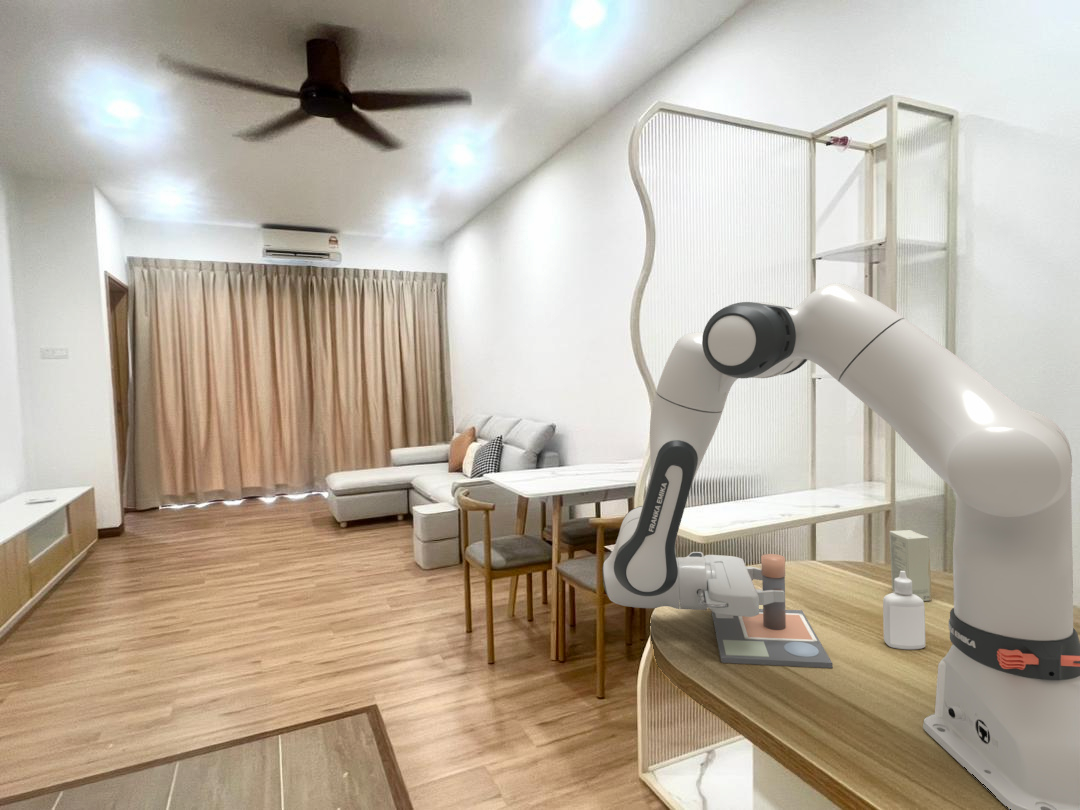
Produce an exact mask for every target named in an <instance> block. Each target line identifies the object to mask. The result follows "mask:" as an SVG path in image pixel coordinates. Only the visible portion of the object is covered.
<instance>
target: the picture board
mask: <svg viewBox="0 0 1080 810" xmlns="http://www.w3.org/2000/svg"><path fill="white" fill-rule="evenodd" d="M785 611H786V628H785V629H783V630H772V629H768V628H766V627H765V626H764V625H763V608H759V614H758V615H757V616H753V617H743V616H731V615H723V614H717V613H714V612H711V616H713V617H712V622H713V626H714V627H713V628H714V632H716V633H715V637H716V642H717V645H718V646H717V647H718V652H719V656H720V657H719V658H720V662H721V664H722V663H724V664H740V665H741V664H743V665H760V666H761V665H762V666H763V665H764V666H780V667H781V666H782V667H783V666H785V667H801V668H802V667H803V668H822V669H825V668H826V669H833V661H832V660H831V658H830V657H829V654H828V653H827V652H826V649H825V648H824V646H823V644H822V642H821V640H820V639H819V638H818V636H817V634H816V633H815V630H814V629H813V626H812V625H811V624H810V623H811V622H809V620H808V618H807V616H806V615H805V613H804V611H803V610H802V609H785Z"/></svg>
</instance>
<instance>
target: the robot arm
mask: <svg viewBox="0 0 1080 810" xmlns="http://www.w3.org/2000/svg"><path fill="white" fill-rule="evenodd" d="M669 354H670V355H669V356H668V358H667V359H666V363H665V365H664V366H663V367H664V368H663V370H662V373H661V375H660V378H659V380H658V383H657V386H656V391H655V393H654V397H653V401H652V407H651V414H650V422H649V423H650V424H649V449H650V451H649V452H650V471H649V479H648V484H647V485H648V486H647V489H646V492H645V496H644V499H643V504H642V505H640V506H637V507H635V508H632V509H631V510H629V511H628V512H627V513H626V514H625V516H624V518H623V520H622V522H621V525H620V528H619V532H618V536H617V539H616V540H615V544H614V546H613V549H612V550H611V553H610V555H609V556H608V557H607V558H606V559H605V560H604V562H603V565H602V579H603V581H602V582H603V587H604V592H605V593H606V596H607V597H608V599H609V600H610V601H611V602H612V603H614V604H616V605H620V606H622V607H623V606H624V607H630V608H631V607H632V608H640V609H657V608H660V607H668V608H669V607H670V608H672V609H673V608H674V609H677V610H696V611H697V610H698V611H699V610H700V611H704V610H705V611H707V610H708V609H710V611H712V612H714V613H717V614H723V615H731V616H743V617H753V616H757V615H758V614H759V609H760V606H763V605H766V604H770V603H773V602H784V601H785V602H786V592H785V593H784V591H783V589H780V588H779V589H777V588H772V590H766V591H763V589H758V588H757V589H756V587H755V585H754V582H753V580H756V581H762V569H761V568H759V567H755V566H746V564H745V561H744V559H743V558H741V557H738V556H734V555H733V556H732V555H723V554H722V555H720V554H705V555H704V553H703V552H702V551H692V552H690V553H689V554H688V555H687V556H685V557H684V556H683V557H681V556H678V557H677V555H676V540H677V536H678V533H679V528H680V527H681V521H682V519H683V514H684V512H685V509H686V508H685V507H686V505H687V501H688V498H689V495H690V491H691V488H692V485H693V482H694V479H695V477H696V475H697V473H698V471H699V468H700V466H701V464H702V462H703V459H704V457H705V455H706V452H707V450H708V448H709V446H710V444H711V442H712V440H713V437H714V435H715V432H716V430H717V428H718V425H719V422H720V421H721V418H722V415H723V412H724V408H725V405H726V402H727V399H728V395H729V393H730V390H731V389H732V386H733V385H734V383H735V382H736V381H737V380H738V379H750V378H752V379H754V378H755V379H768V378H774V377H778V376H783V375H786V374H787V375H788V374H791V373H793V372H795V371H796V370H798V369H800V368H801V367H802V366H803V365H804V364H806V363H807V362H808V361H810V362H812V363H814V364H816V365H817V366H819V367H820V368H822V369H823V370H824V371H825V372H827V373H828V374H829V375H830V376H832V378H834V379H835V380H836V381H837V382H838V383H840V384H841V385H842V386H843V387H845V388H846V389H847V390H848V391H849V392H851V393H852V394H853V395H854V396H855V397H856V398H857V399H859V400H860V401H861V402H862V403H864V404H865V406H867V407H868V408H870V409H871V410H872V411H873V412H874V413H876V414H877V415H878V416H879V417H881V419H883V420H884V421H885V423H887V424H888V425H889V426H890V427H891V428H892V429H893V430H894V431H895V432H896V434H898V435H899V436H900V437H901V438H902V440H904V441H905V443H907V445H908V446H909V447H910V448H911V449H912V450H913V451H914V452H915V453H916V454H917V456H919V457H920V459H921V460H923V462H924V463H925V464H926V465H927V466H928V467H929V468H931V470H932V471H933V472H935V474H937V476H938V477H940V479H942V480H943V482H945V483H946V484H947V485H948V486H949V487H950V488H951V489H952V491H954V493H955V494H956V500H955V501H956V504H955V505H956V507H955V521H954V534H953V536H954V537H953V545H952V568H953V569H952V575H953V577H952V578H953V581H952V583H953V584H952V585H953V607H952V608H951V610H950V612H949V619H948V629H949V640H950V642H951V643H952V645H951V647H950V648H949V651H948V652H947V654H946V655H945V656H944V657H942V659H941V660H940V662H938V666H937V676H936V678H937V679H936V688H935V689H936V692H935V705H934V706H935V707H934V713H932V714H930V715H928V716H926V717H925V718H924V720H923V725H922V728H923V730H924V731H925V732H926V733H927V734H928V735H929V736H930V737H931V738H932V739H934V740H935V742H936V743H938V744H939V745H940V746H941V747H942V748H943V749H944V750H945V751H946V752H947V753H948V754H949V755H950V756H952V758H954V759H955V760H956V762H958V763H959V764H960V765H961V766H962V767H963V768H964V767H965V768H966V769H967V770H966V769H965V768H964V769H965V770H966V771H968V773H970V774H971V775H972V774H973V775H974V776H975V777H976V778H977V779H978V780H979V781H980V782H981V783H982V784H984V785H985V786H986V787H987V788H988V789H989V790H990V791H991V792H992V793H993V794H994V795H995V796H996V797H995V796H994V795H993V794H992V793H991V792H990V791H989V790H988V789H987V788H986V787H985V786H984V785H983V786H984V787H985V788H986V789H987V790H988V791H989V792H990V793H991V794H992V795H993V796H994V797H995V798H996V799H998V800H999V801H1000V803H1002V804H1003V805H1004V806H1005V807H1006V806H1007V807H1009V808H1008V810H1010V809H1011V810H1080V637H1079V633H1078V632H1077V630H1076V629H1075V627H1074V593H1073V592H1074V591H1073V589H1074V588H1073V585H1074V584H1073V583H1074V582H1073V581H1074V577H1073V576H1074V574H1073V573H1074V572H1073V571H1074V570H1073V569H1074V567H1073V566H1074V565H1073V563H1074V560H1073V559H1074V558H1073V557H1074V556H1073V523H1072V521H1073V519H1072V517H1073V516H1072V515H1073V514H1072V513H1073V512H1072V511H1073V509H1072V476H1073V475H1072V474H1073V458H1072V457H1073V456H1072V449H1071V445H1070V442H1069V438H1067V435H1066V434H1065V432H1064V430H1062V428H1061V427H1060V426H1059V425H1058V424H1057V423H1055V422H1054V421H1053V420H1052V419H1050V418H1049V417H1048V416H1045V415H1044V414H1041V413H1039V412H1037V411H1033V410H1029V409H1027V408H1026V409H1025V408H1022V407H1021V406H1019V405H1018V404H1017V403H1015V402H1014V401H1013V400H1011V399H1010V398H1009V397H1007V396H1006V395H1005V394H1004V393H1003V392H1002V391H1000V390H999V389H997V388H996V387H995V386H994V385H993V384H991V383H990V382H989V381H987V380H986V379H985V378H984V377H982V375H981V374H979V373H977V371H975V369H973V368H972V367H970V366H969V364H967V363H966V362H965V361H964V360H962V359H961V358H960V357H959V356H957V355H956V354H955V353H953V352H952V351H950V350H949V349H948V348H946V346H944V345H942V344H941V343H939V342H938V341H937V340H935V338H932V337H931V336H930V335H929V334H927V333H926V332H924V331H923V330H921V329H920V328H919V327H918V326H916V325H915V324H914V323H912V322H910V321H909V320H908V319H906V318H905V317H904V316H903V315H901V314H899V312H897V311H895V310H893V309H892V308H890V307H889V306H888V305H886V304H884V303H883V302H881V301H879V300H878V299H876V298H874V297H872V296H870V295H868V294H866V293H864V292H862V291H860V290H858V289H856V288H854V287H851V286H849V285H846V284H844V283H836V282H835V283H829V284H825V285H823V286H821V287H818V288H817V289H815V290H814V291H812V292H811V293H809V294H808V295H807V296H806V297H805V298H804V299H803V301H801V303H800V304H799V305H797V306H795V307H794V308H793V307H789V306H782V305H779V304H774V303H770V302H762V301H760V302H759V301H758V302H755V301H754V302H753V301H743V302H742V301H741V302H737V303H733V304H729V305H727V306H725V307H723V308H721V309H719V310H718V311H717V312H715V313H714V314H713V315H712V316H711V317H710V318H709V320H708V321H707V323H706V325H705V326H704V329H703V331H696V332H690V333H687V334H684V335H682V336H681V337H680V338H678V339H677V341H676V342H675V344H674V346H673V347H672V350H671V352H670V353H669ZM712 612H711V613H712ZM973 775H972V776H973ZM974 776H973V777H974ZM975 777H974V778H975ZM976 778H975V779H976ZM977 779H976V780H977ZM978 780H977V781H978ZM979 781H978V782H979ZM980 782H979V783H980ZM981 783H980V784H981ZM982 784H981V785H982ZM1007 807H1006V808H1007Z"/></svg>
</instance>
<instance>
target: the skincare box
mask: <svg viewBox="0 0 1080 810" xmlns="http://www.w3.org/2000/svg"><path fill="white" fill-rule="evenodd" d="M889 550H890V551H889V552H890V553H889V554H890V568H891V569H890V573H891V574H890V575H891V590H892V593H894V592H895V591H894V579H895V578H898V577H899V575H900V571H905V572H906V576H907V578H908V579H910V580H911V581H912V594H914V595H917V596H918V597H920V598H921V599H922V600H923V601H924V602H929V601H932V600H933V598H932V597H933V596H932V595H933V594H932V577H931V575H932V574H931V557H930V556H931V553H930V537H929V536H928V535H927V536H926V535H924V534H921V533H919V532H916V531H914V530H911V529H903V530H902V529H901V530H889Z"/></svg>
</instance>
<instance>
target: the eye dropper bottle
mask: <svg viewBox="0 0 1080 810" xmlns="http://www.w3.org/2000/svg"><path fill="white" fill-rule="evenodd" d="M894 591H895V592H891V593H890V592H889V593H888V594H886V595H884V597H883V600H882V609H883V610H882V614H883V615H882V616H883V617H882V621H883V625H882V626H883V641H884V642H885V643H886V645H887V646H888V647H890V648H894V649H899V650H920V649H923V648H925V647H926V614H925V613H926V609H925V601H923V600H922V599H921V598H920V597H918V596H917V595H914V594H912V581H911V580H910V579H908V578H907V576H906V572H905V571H900V575H899V577H898V578H895V579H894Z"/></svg>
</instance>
